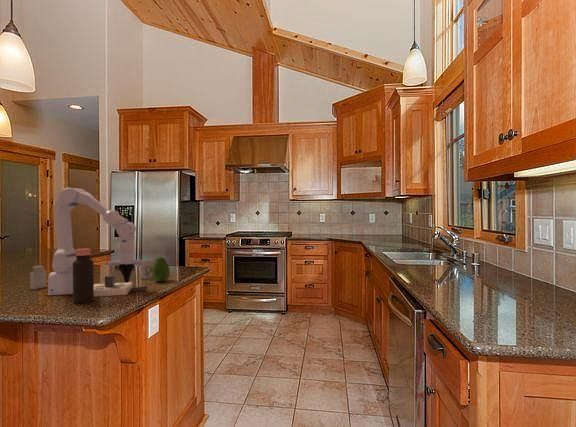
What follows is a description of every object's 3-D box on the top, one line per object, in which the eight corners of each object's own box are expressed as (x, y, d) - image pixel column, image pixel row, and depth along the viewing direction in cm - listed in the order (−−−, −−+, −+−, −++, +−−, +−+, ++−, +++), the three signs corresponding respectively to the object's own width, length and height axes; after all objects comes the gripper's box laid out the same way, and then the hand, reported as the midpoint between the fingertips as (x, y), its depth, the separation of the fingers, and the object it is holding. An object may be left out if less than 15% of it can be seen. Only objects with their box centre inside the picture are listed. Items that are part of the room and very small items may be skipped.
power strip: (85, 297, 131) (85, 290, 130) (94, 289, 142) (94, 283, 142) (144, 293, 136) (144, 287, 136) (148, 286, 148) (148, 281, 148)
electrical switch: (141, 279, 162) (140, 260, 163) (140, 278, 167) (140, 260, 168) (161, 278, 166) (161, 259, 167) (160, 277, 171) (160, 259, 172)
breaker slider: (104, 286, 136) (104, 276, 136) (107, 284, 140) (107, 274, 140) (112, 286, 137) (112, 276, 137) (115, 284, 141) (115, 274, 140)
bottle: (74, 300, 126) (74, 248, 126) (95, 298, 129) (94, 247, 129) (71, 305, 120) (70, 250, 120) (92, 302, 123) (91, 249, 122)
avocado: (157, 279, 162) (157, 255, 162) (172, 280, 161) (172, 256, 161) (148, 283, 154) (148, 258, 154) (164, 284, 153) (163, 258, 153)
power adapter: (47, 286, 147) (46, 260, 147) (34, 289, 142) (34, 262, 142) (42, 286, 148) (41, 259, 148) (29, 289, 143) (29, 261, 143)
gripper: (105, 252, 134) (105, 285, 134) (143, 251, 138) (143, 283, 138) (109, 250, 141) (110, 281, 141) (146, 248, 145) (146, 279, 145)
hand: (127, 282), depth 140 cm, fingers closed
